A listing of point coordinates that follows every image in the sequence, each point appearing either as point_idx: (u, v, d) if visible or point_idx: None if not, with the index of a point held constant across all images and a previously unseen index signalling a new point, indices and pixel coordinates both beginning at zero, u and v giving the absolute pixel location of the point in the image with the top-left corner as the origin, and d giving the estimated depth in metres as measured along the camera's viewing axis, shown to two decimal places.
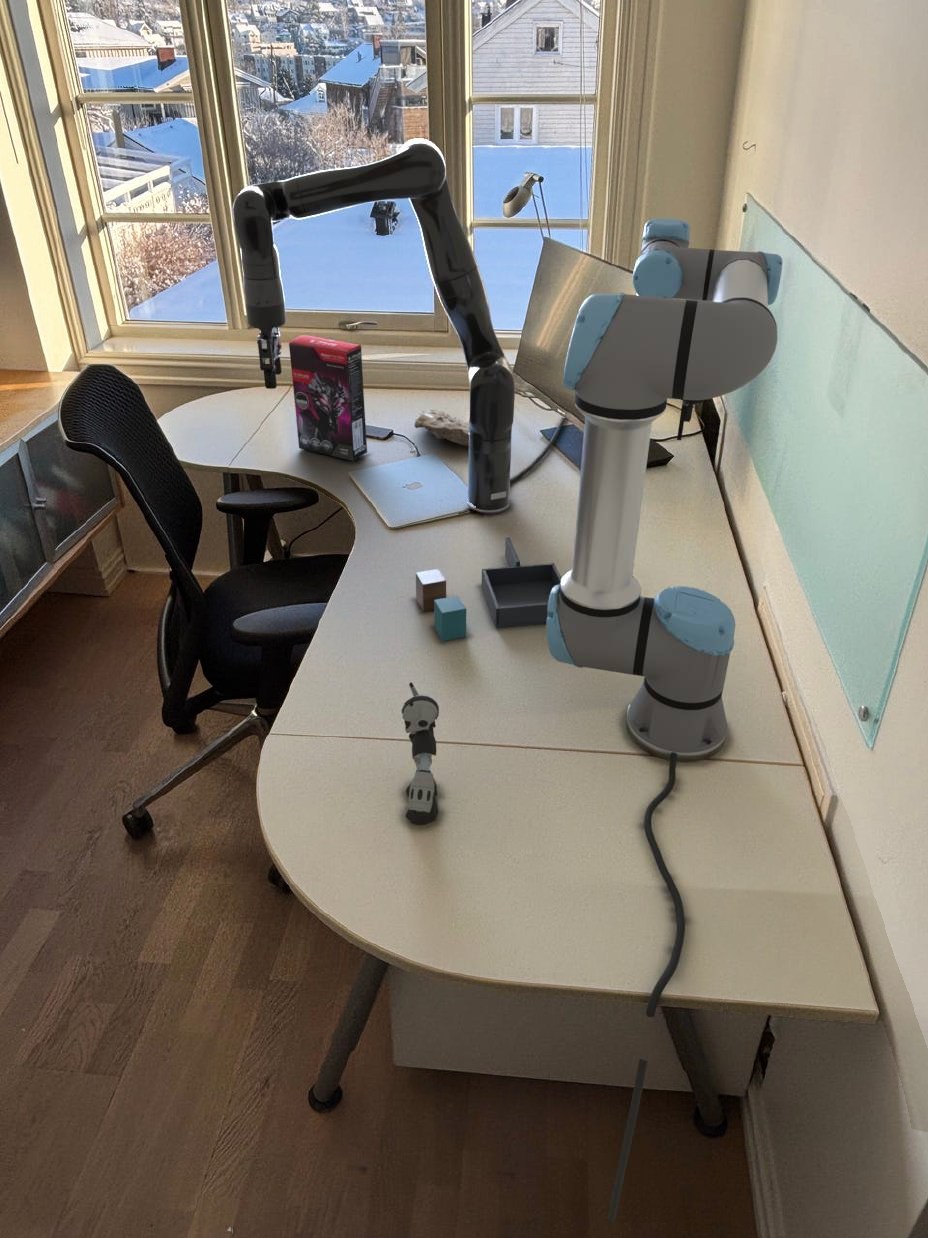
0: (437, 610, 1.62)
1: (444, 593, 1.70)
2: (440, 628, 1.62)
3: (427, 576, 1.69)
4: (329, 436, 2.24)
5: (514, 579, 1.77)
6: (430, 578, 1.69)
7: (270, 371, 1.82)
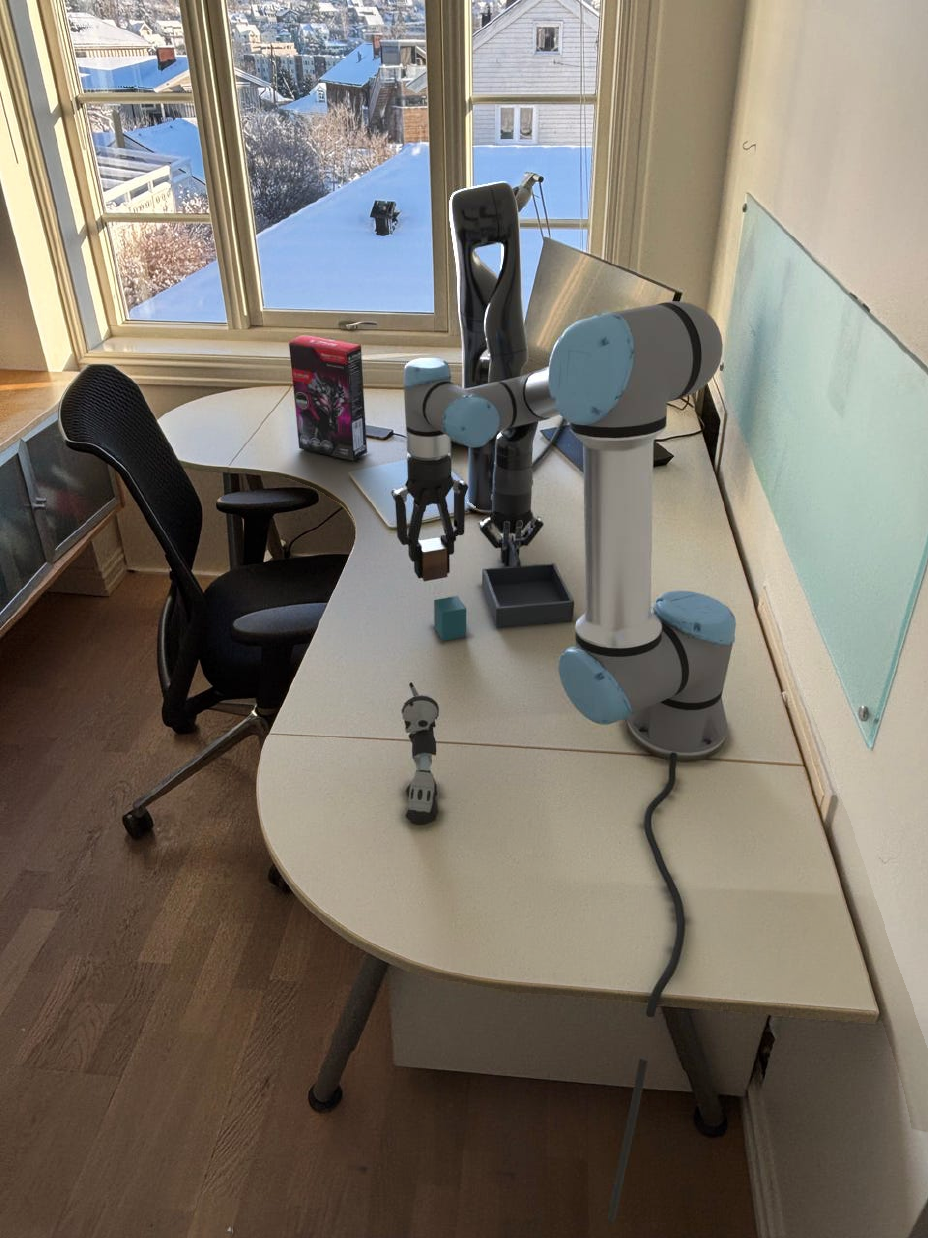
0: (437, 610, 1.62)
1: (445, 562, 1.66)
2: (440, 628, 1.62)
3: (427, 544, 1.65)
4: (329, 436, 2.24)
5: (514, 579, 1.77)
6: (430, 546, 1.65)
7: None
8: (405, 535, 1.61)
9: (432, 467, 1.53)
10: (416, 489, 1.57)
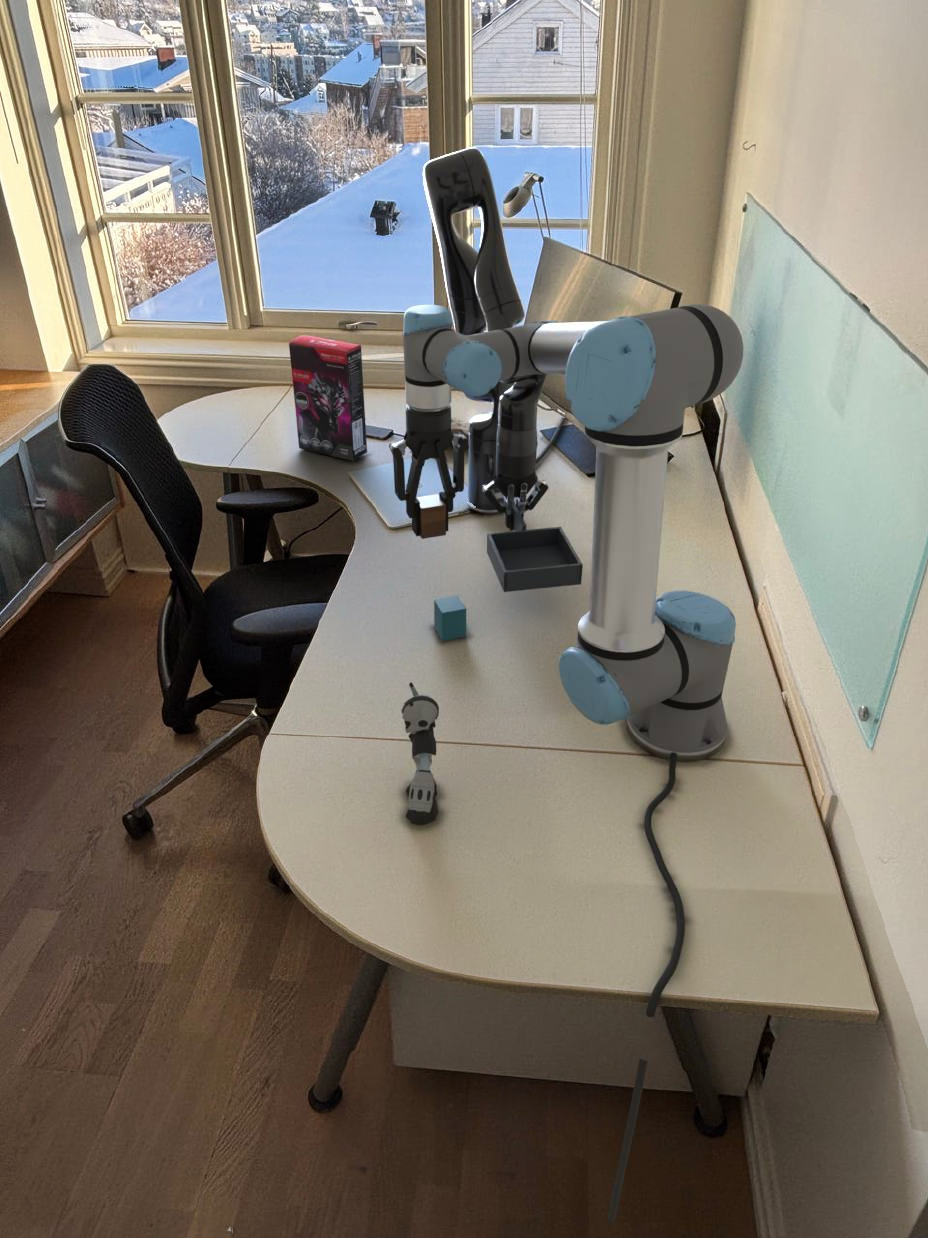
0: (437, 610, 1.62)
1: (444, 519, 1.61)
2: (440, 628, 1.62)
3: (425, 500, 1.61)
4: (329, 436, 2.24)
5: (520, 544, 1.73)
6: (429, 502, 1.60)
7: None
8: (403, 490, 1.56)
9: (431, 419, 1.49)
10: (415, 442, 1.53)
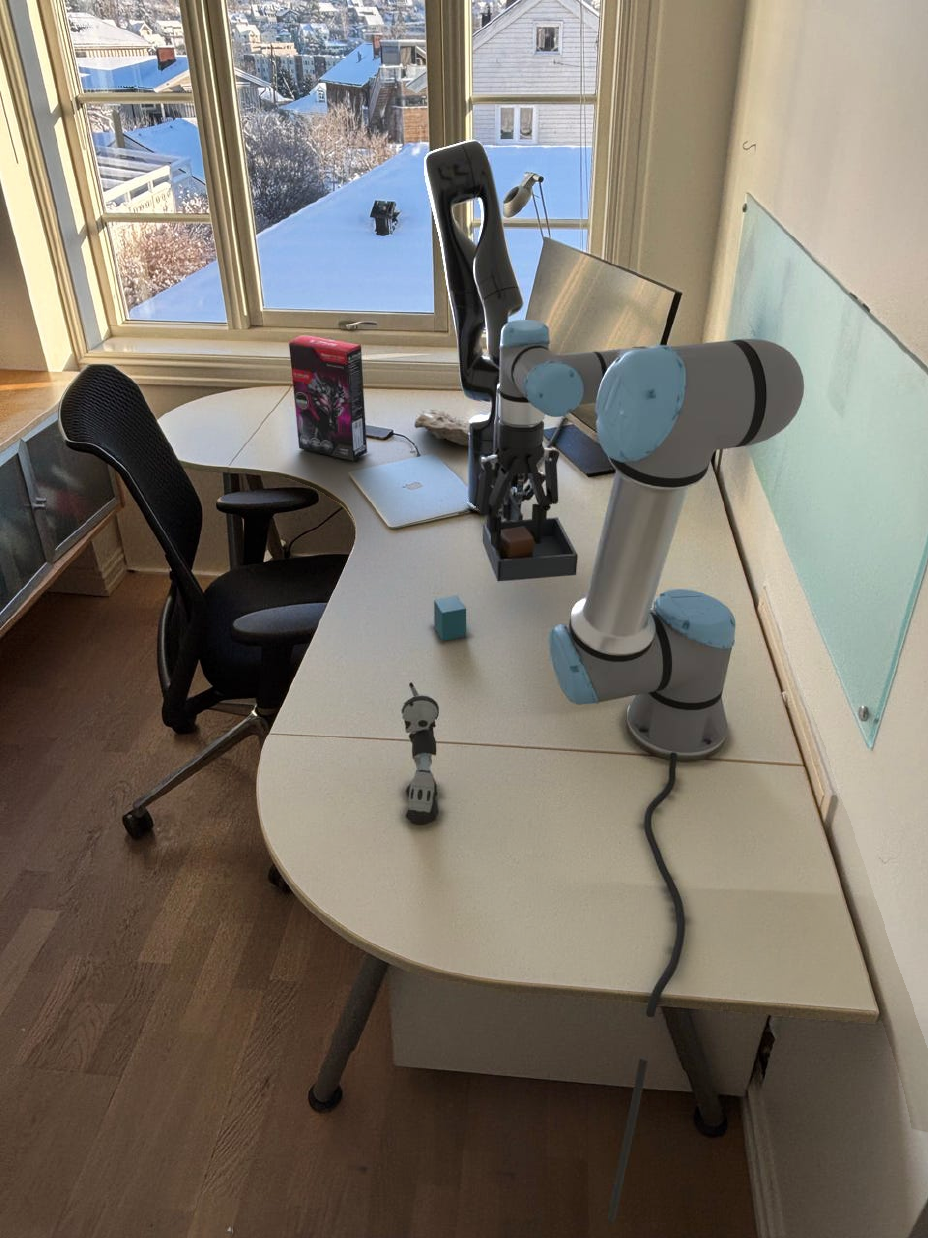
0: (437, 610, 1.62)
1: (531, 551, 1.62)
2: (440, 628, 1.62)
3: (513, 533, 1.62)
4: (329, 436, 2.24)
5: None
6: (516, 535, 1.61)
7: None
8: (486, 505, 1.55)
9: (526, 434, 1.47)
10: (506, 458, 1.51)
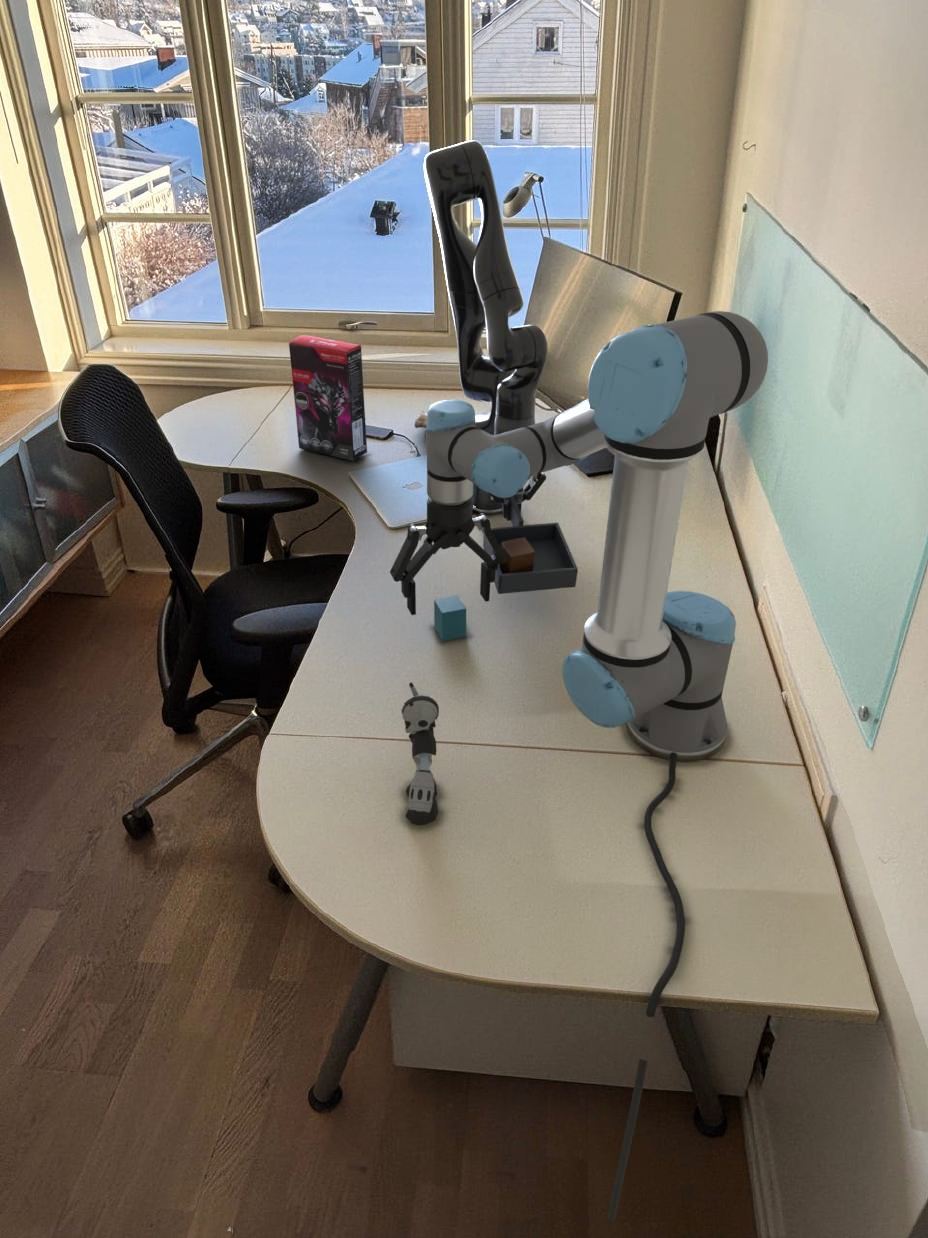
0: (437, 610, 1.62)
1: (531, 564, 1.64)
2: (440, 628, 1.62)
3: (514, 546, 1.63)
4: (329, 436, 2.24)
5: None
6: (518, 548, 1.62)
7: None
8: (401, 572, 1.54)
9: (453, 512, 1.48)
10: (435, 533, 1.52)
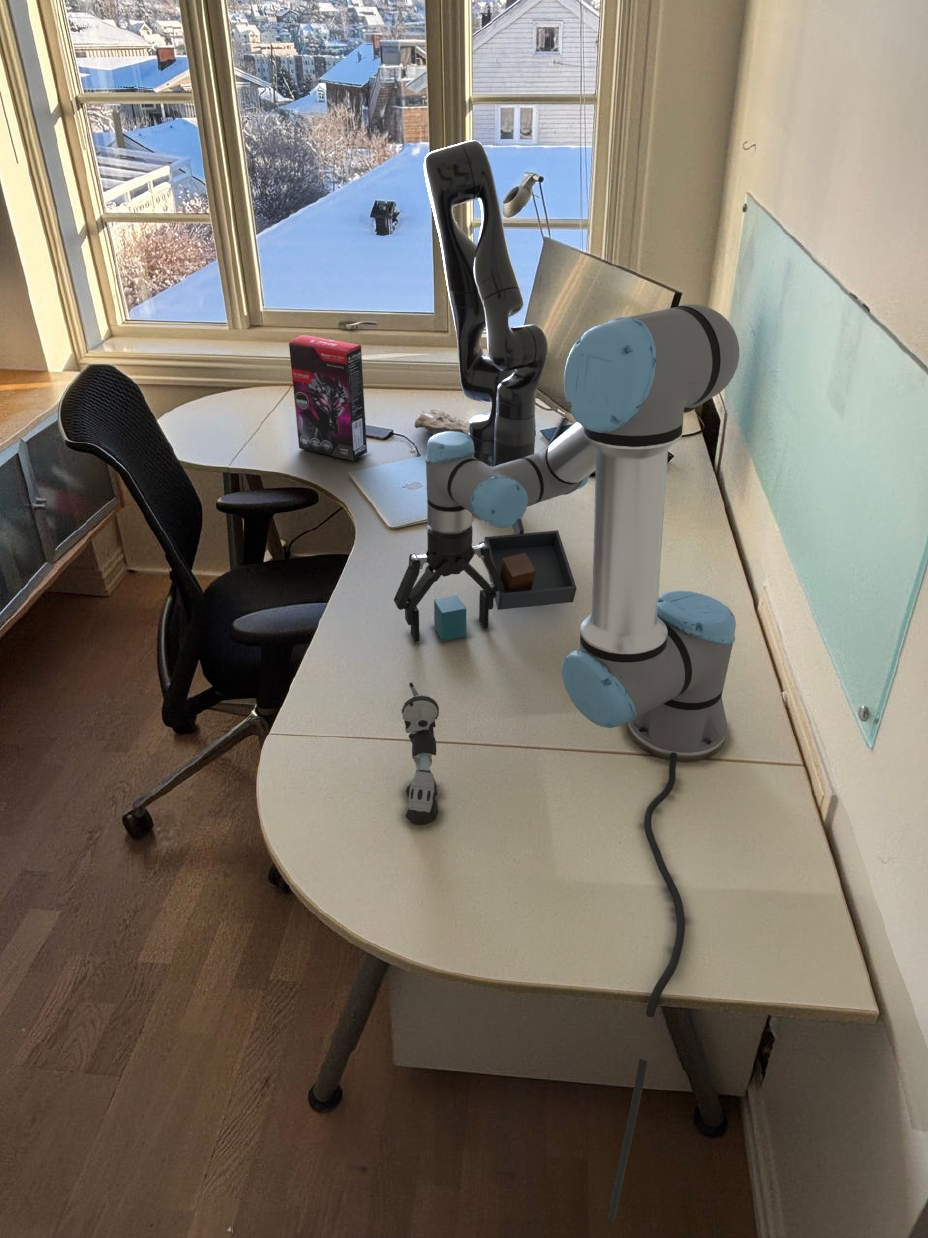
0: (437, 610, 1.62)
1: (531, 581, 1.66)
2: (440, 628, 1.62)
3: (515, 563, 1.65)
4: (329, 436, 2.24)
5: (516, 545, 1.74)
6: (518, 567, 1.64)
7: None
8: (405, 601, 1.57)
9: (453, 541, 1.50)
10: (436, 561, 1.55)
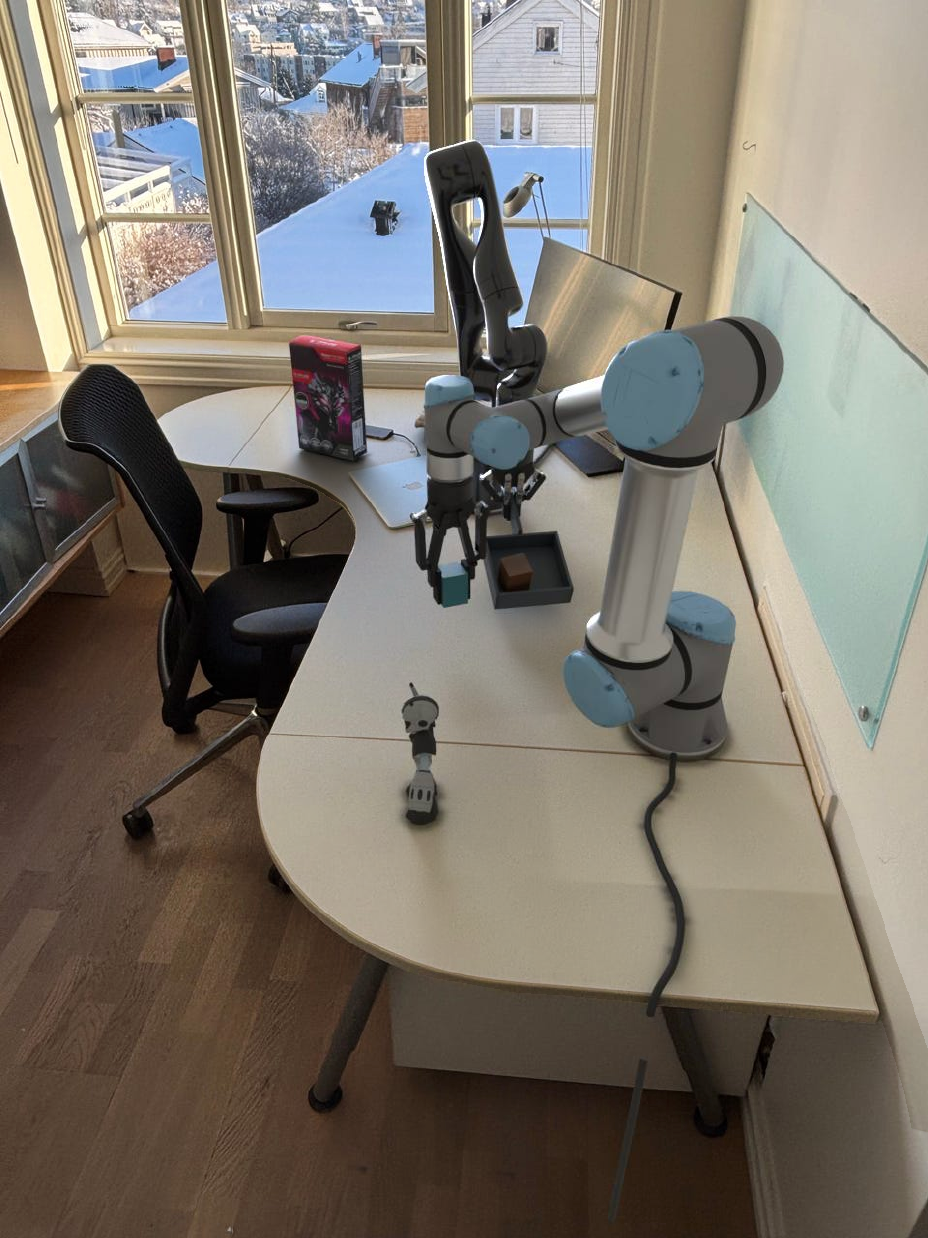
0: None
1: (529, 581, 1.66)
2: None
3: (512, 563, 1.65)
4: (329, 436, 2.24)
5: (515, 545, 1.74)
6: (516, 567, 1.64)
7: None
8: (424, 560, 1.53)
9: (454, 490, 1.45)
10: (436, 512, 1.49)
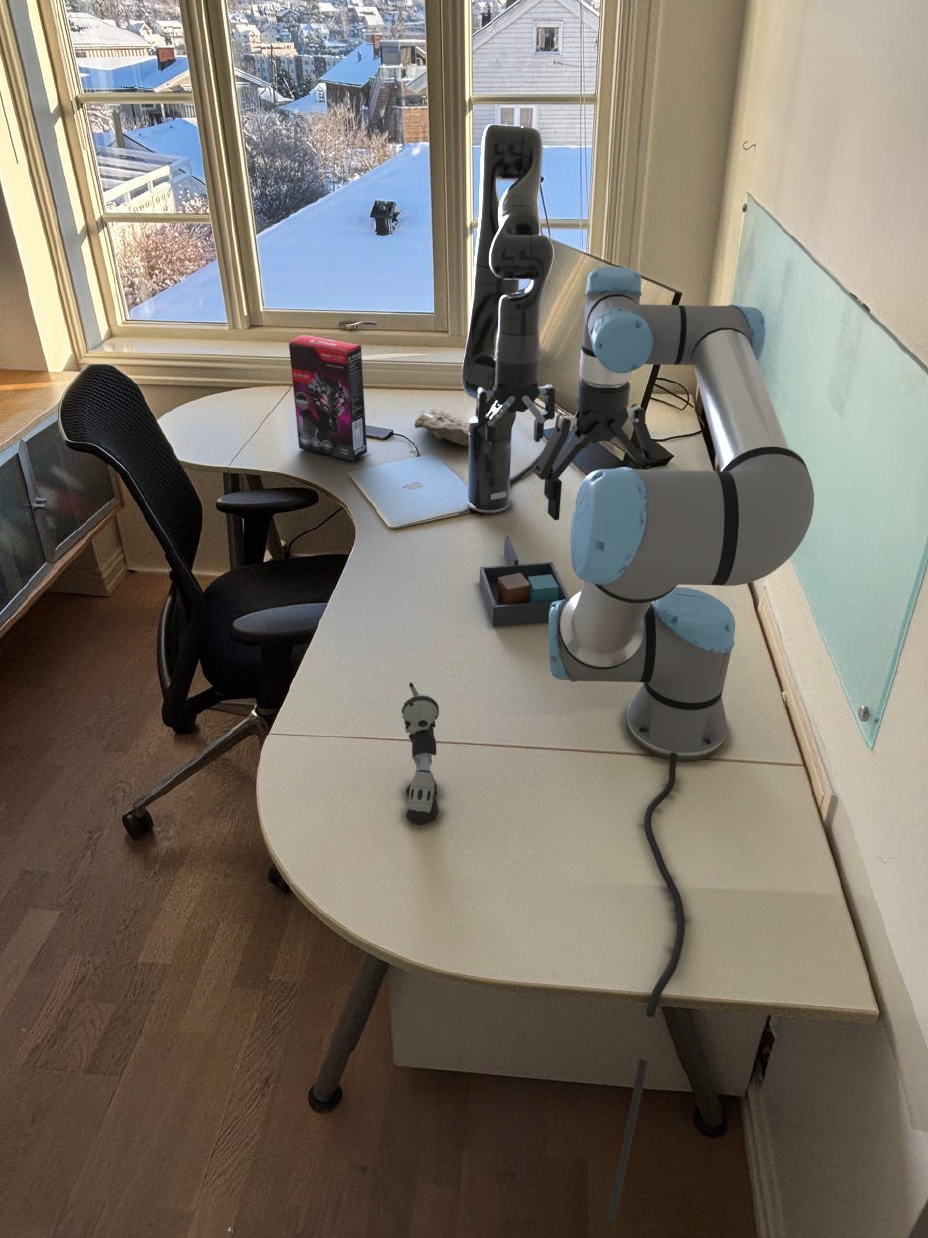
0: (530, 587, 1.67)
1: (528, 598, 1.67)
2: None
3: (510, 580, 1.67)
4: (329, 436, 2.24)
5: None
6: (514, 582, 1.67)
7: None
8: (548, 469, 1.38)
9: (612, 396, 1.32)
10: (587, 423, 1.37)
